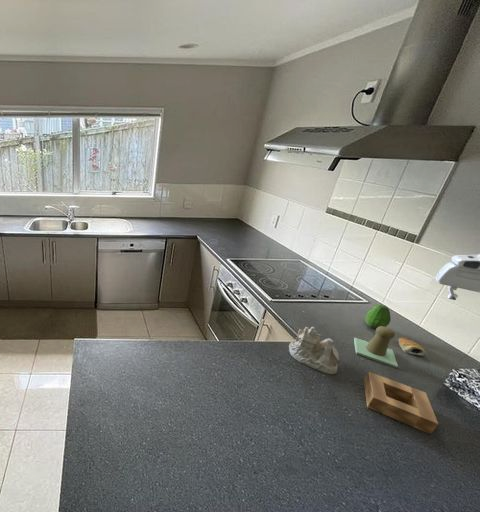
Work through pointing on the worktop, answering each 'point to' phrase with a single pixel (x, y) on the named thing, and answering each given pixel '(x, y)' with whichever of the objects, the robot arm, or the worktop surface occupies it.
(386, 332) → the cork
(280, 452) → the worktop surface
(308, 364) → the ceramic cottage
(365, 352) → the mat
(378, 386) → the holder
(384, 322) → the avocado
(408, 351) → the pastry
